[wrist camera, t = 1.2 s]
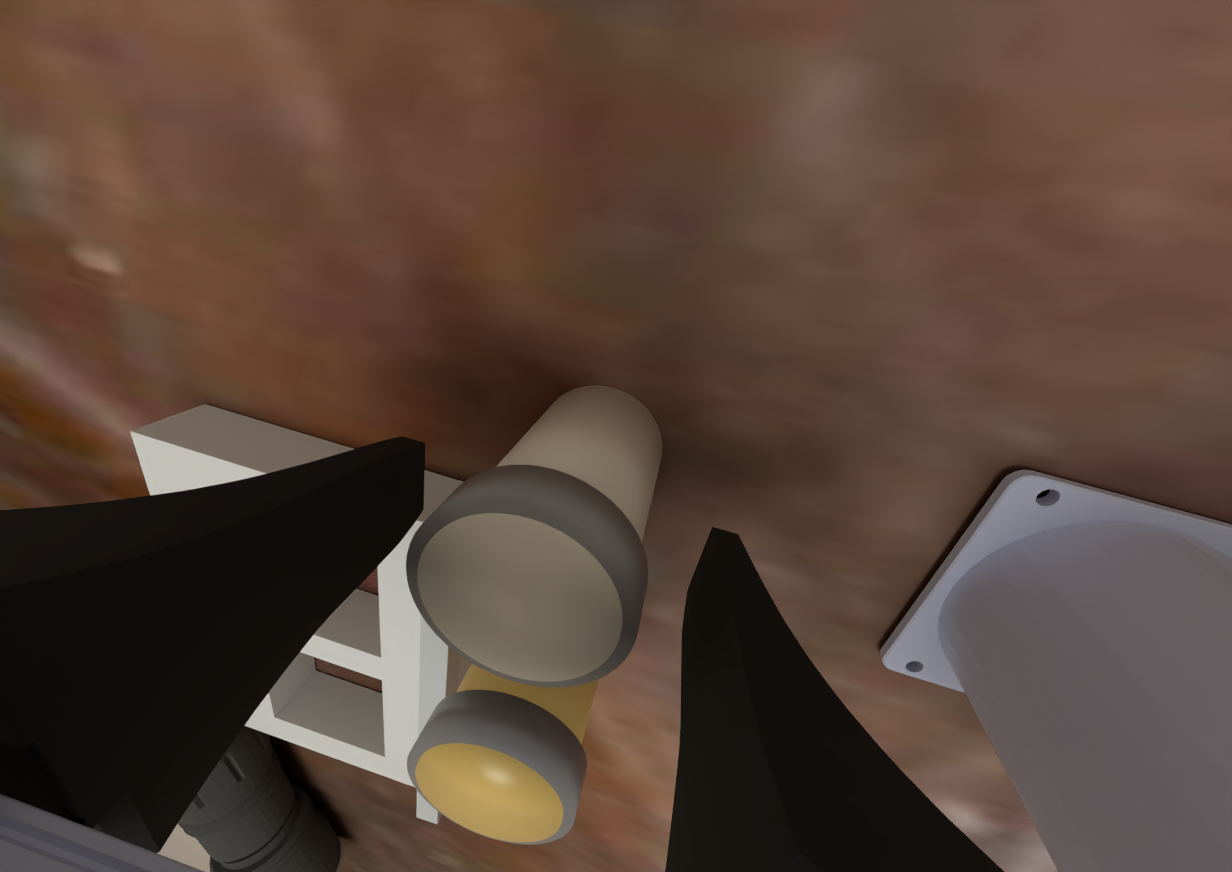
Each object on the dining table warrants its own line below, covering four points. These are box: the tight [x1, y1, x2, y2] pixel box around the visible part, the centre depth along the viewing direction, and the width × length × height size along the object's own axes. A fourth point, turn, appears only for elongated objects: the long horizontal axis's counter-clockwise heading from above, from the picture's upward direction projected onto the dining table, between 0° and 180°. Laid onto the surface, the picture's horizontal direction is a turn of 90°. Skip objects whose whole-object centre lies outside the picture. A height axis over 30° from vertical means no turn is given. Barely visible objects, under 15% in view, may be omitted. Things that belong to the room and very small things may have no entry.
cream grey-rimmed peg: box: [406, 385, 663, 688], centre depth 12 cm, size 5×5×7 cm
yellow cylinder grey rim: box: [407, 664, 598, 845], centre depth 15 cm, size 5×5×7 cm
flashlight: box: [178, 726, 343, 872], centre depth 27 cm, size 15×5×5 cm, turn 6°
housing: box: [130, 404, 472, 824], centre depth 19 cm, size 12×16×4 cm
